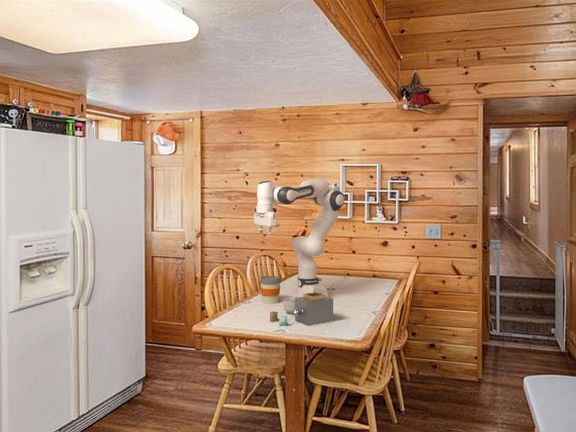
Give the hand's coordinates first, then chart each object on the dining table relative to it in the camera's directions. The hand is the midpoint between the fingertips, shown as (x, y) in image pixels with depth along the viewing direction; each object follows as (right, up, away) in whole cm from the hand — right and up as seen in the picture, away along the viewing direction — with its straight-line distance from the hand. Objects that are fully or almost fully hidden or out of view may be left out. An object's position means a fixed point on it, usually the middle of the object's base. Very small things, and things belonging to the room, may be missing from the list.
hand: (264, 234), depth 294 cm
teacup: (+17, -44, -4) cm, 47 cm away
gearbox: (+25, -45, -23) cm, 56 cm away
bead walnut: (+6, -45, -22) cm, 50 cm away
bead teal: (+11, -46, -30) cm, 56 cm away
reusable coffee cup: (+2, -42, +19) cm, 46 cm away
